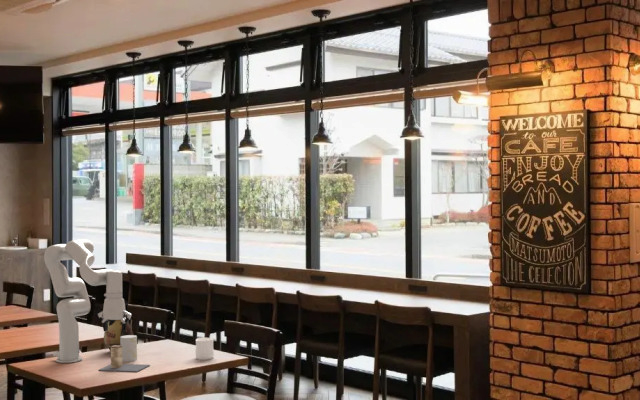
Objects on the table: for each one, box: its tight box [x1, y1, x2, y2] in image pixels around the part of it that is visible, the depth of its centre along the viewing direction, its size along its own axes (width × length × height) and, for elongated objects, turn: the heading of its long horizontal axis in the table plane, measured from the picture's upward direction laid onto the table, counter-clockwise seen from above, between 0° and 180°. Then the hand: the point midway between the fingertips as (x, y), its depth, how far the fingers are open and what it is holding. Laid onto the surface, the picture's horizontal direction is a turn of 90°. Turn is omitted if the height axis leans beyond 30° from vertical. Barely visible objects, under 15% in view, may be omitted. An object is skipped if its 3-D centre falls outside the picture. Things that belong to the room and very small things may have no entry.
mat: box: [98, 363, 151, 373], centre depth 381 cm, size 20×14×1 cm
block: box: [110, 345, 123, 368], centre depth 382 cm, size 4×4×10 cm
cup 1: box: [120, 334, 138, 363], centre depth 401 cm, size 8×8×12 cm
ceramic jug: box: [103, 298, 134, 353], centre depth 423 cm, size 17×15×30 cm
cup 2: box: [195, 337, 215, 361], centre depth 403 cm, size 10×10×10 cm
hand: (114, 331), depth 382 cm, fingers open, 9 cm apart
